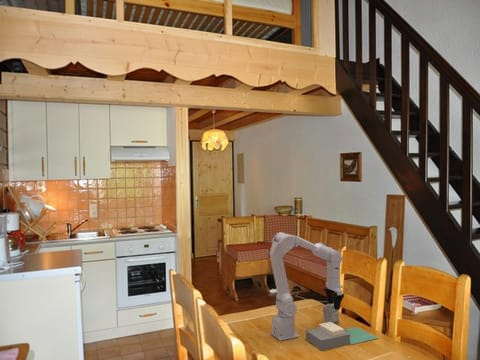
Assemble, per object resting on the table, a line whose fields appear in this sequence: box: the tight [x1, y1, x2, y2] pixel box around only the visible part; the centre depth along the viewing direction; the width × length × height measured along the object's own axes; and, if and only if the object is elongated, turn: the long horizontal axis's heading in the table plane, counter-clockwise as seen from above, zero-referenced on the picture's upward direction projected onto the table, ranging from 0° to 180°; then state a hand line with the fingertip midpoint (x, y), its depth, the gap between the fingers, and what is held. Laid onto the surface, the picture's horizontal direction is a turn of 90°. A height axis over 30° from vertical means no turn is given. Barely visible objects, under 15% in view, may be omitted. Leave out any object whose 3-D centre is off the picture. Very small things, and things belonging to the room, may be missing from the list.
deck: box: [305, 327, 351, 352], centre depth 152 cm, size 14×11×4 cm
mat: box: [344, 326, 379, 346], centre depth 158 cm, size 14×13×1 cm
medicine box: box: [322, 303, 340, 325], centre depth 172 cm, size 8×4×9 cm, turn 143°
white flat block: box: [318, 322, 345, 337], centre depth 153 cm, size 6×9×2 cm, turn 23°
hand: (333, 306), depth 166 cm, fingers open, 7 cm apart
